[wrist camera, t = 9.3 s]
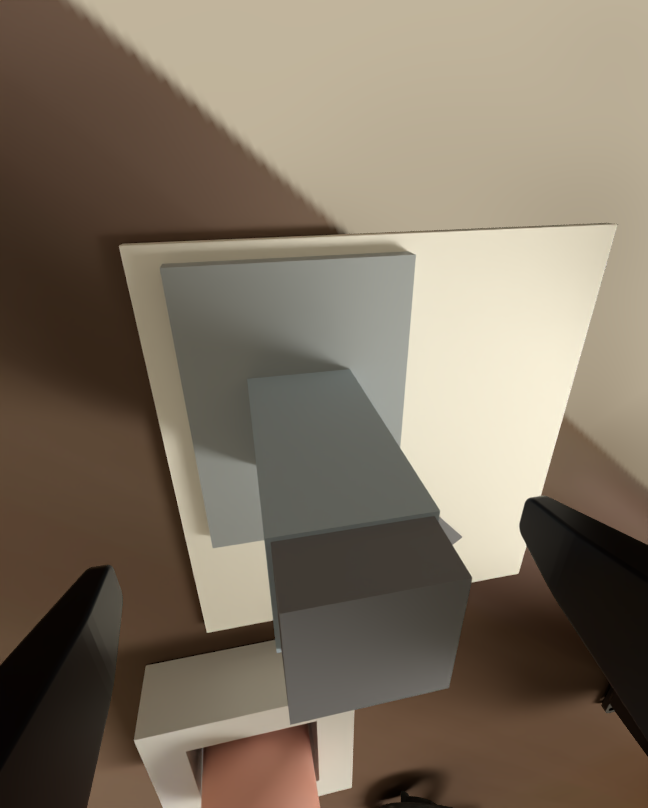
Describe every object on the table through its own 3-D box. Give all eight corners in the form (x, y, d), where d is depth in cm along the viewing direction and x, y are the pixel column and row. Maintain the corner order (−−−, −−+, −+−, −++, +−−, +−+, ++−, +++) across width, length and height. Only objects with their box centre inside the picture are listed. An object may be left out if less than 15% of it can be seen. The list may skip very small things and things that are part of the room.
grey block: (349, 368, 14) (479, 571, 7) (348, 453, 15) (452, 689, 8) (247, 378, 13) (271, 611, 6) (256, 464, 15) (284, 729, 8)
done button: (306, 700, 20) (323, 812, 17) (309, 753, 22) (325, 862, 19) (195, 724, 19) (188, 849, 16) (211, 777, 22) (208, 896, 18)
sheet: (608, 222, 14) (633, 226, 13) (513, 567, 22) (525, 583, 21) (122, 243, 12) (113, 249, 11) (207, 624, 19) (206, 646, 18)
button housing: (338, 627, 21) (355, 690, 19) (338, 724, 25) (351, 787, 23) (145, 665, 20) (133, 740, 17) (180, 762, 24) (174, 834, 21)
